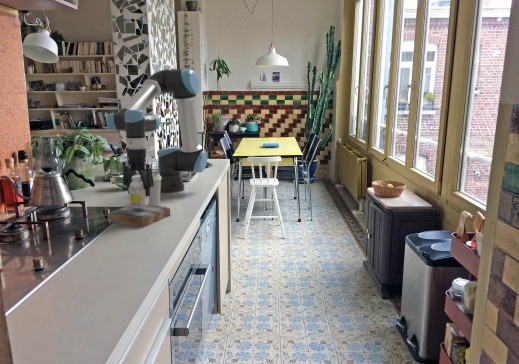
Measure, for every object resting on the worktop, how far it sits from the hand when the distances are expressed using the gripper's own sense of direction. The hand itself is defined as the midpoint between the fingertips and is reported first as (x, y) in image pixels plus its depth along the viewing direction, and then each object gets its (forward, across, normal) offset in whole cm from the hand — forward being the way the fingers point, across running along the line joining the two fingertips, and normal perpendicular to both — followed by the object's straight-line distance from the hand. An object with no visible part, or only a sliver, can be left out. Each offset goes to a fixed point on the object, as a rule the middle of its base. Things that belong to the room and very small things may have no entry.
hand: (139, 202), depth 176 cm
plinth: (+7, 0, 0) cm, 7 cm away
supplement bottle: (+2, 0, 0) cm, 2 cm away
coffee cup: (+7, -8, +19) cm, 22 cm away
